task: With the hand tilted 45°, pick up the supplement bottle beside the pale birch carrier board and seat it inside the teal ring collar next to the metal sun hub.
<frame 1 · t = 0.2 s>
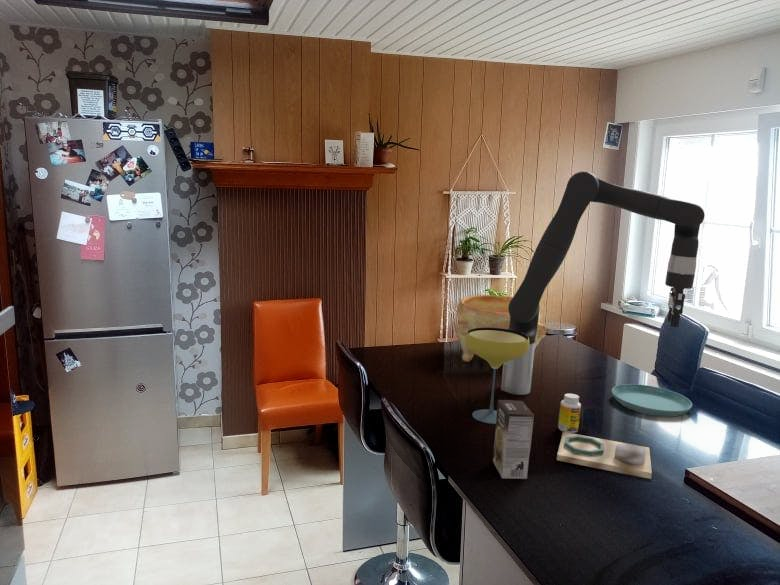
hand: (672, 324, 184), 29 cm above the kitchen island, tool pointing down, fingers open, 8 cm apart
supplement bottle: (567, 430, 174), on the kitchen island
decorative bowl: (489, 358, 243), on the kitchen island
cocktail glass: (490, 417, 180), on the kitchen island
coffee box: (509, 470, 147), on the kitchen island
saucer: (649, 406, 198), on the kitchen island
carrier board: (603, 456, 157), on the kitchen island
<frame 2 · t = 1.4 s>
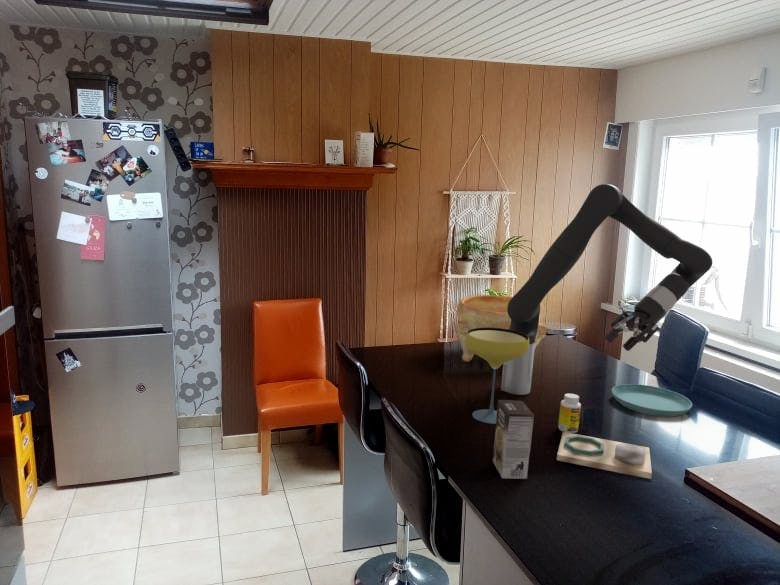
hand: (615, 344, 173), 25 cm above the kitchen island, tool tilted 45°, fingers open, 8 cm apart
nothing on the kitchen island moved.
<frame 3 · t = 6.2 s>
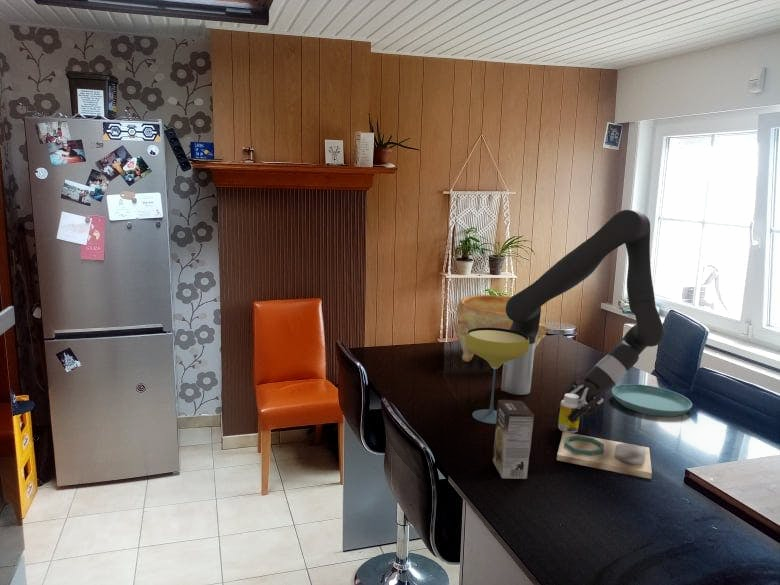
hand: (563, 415, 172), 4 cm above the kitchen island, tool tilted 45°, fingers closed on supplement bottle, 5 cm apart
supplement bottle: (567, 430, 174), on the kitchen island, touching gripper
everything else where it was.
when the fingers open (6 cm above the kitchen island, at t = 11.7 s): supplement bottle stays where it is, resting on carrier board.
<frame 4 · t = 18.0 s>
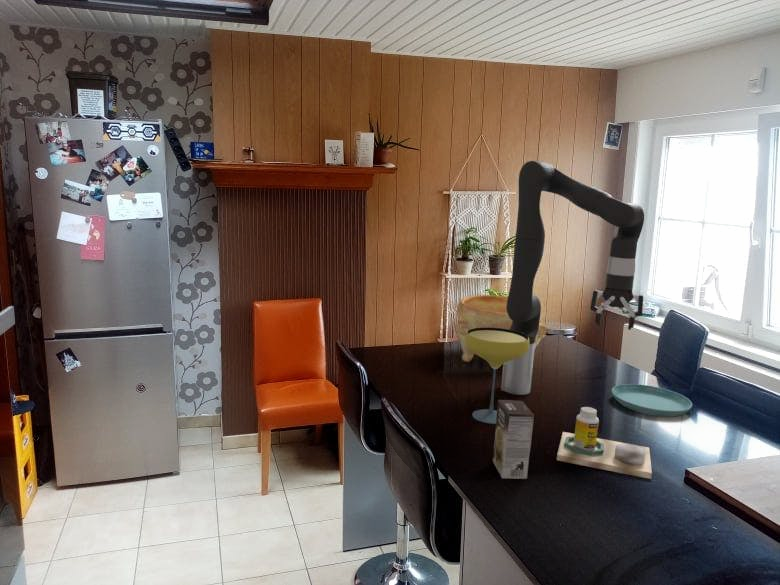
hand: (613, 327, 179), 28 cm above the kitchen island, tool pointing down, fingers open, 8 cm apart
supplement bottle: (584, 447, 159), point 1 cm above the kitchen island, touching carrier board
everything else where it was.
at the end: supplement bottle 0.3 cm from the target spot on the carrier board, point 1.3 cm above the carrier board's base; supplement bottle tilted 0°; the gripper is holding nothing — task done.
